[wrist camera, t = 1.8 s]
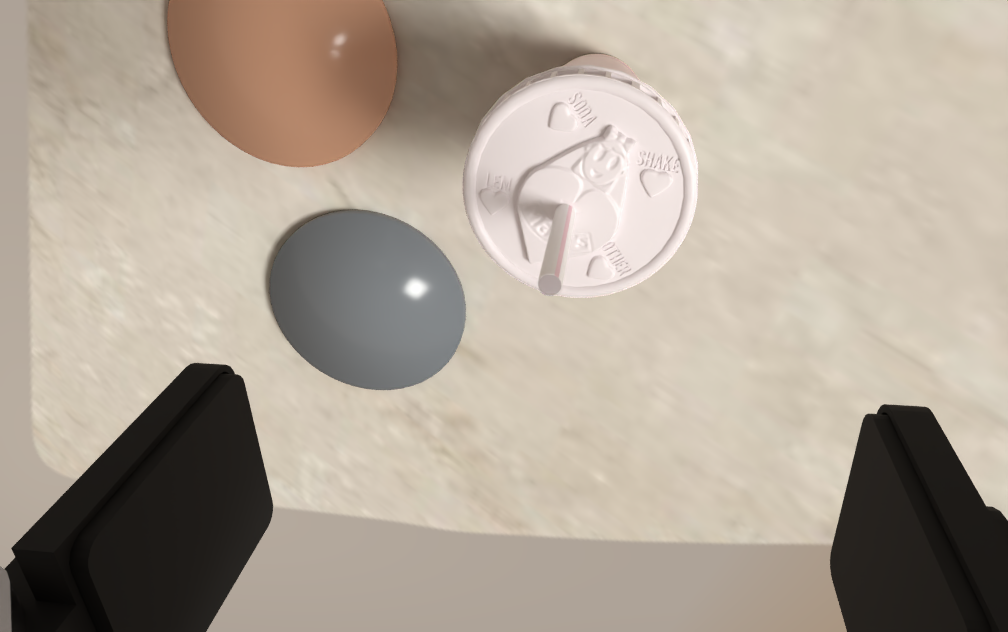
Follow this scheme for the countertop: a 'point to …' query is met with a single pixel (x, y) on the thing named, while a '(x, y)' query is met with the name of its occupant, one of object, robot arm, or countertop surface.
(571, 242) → the smoothie
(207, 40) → the orange brown disc
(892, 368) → the countertop surface
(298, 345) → the grey pebble
